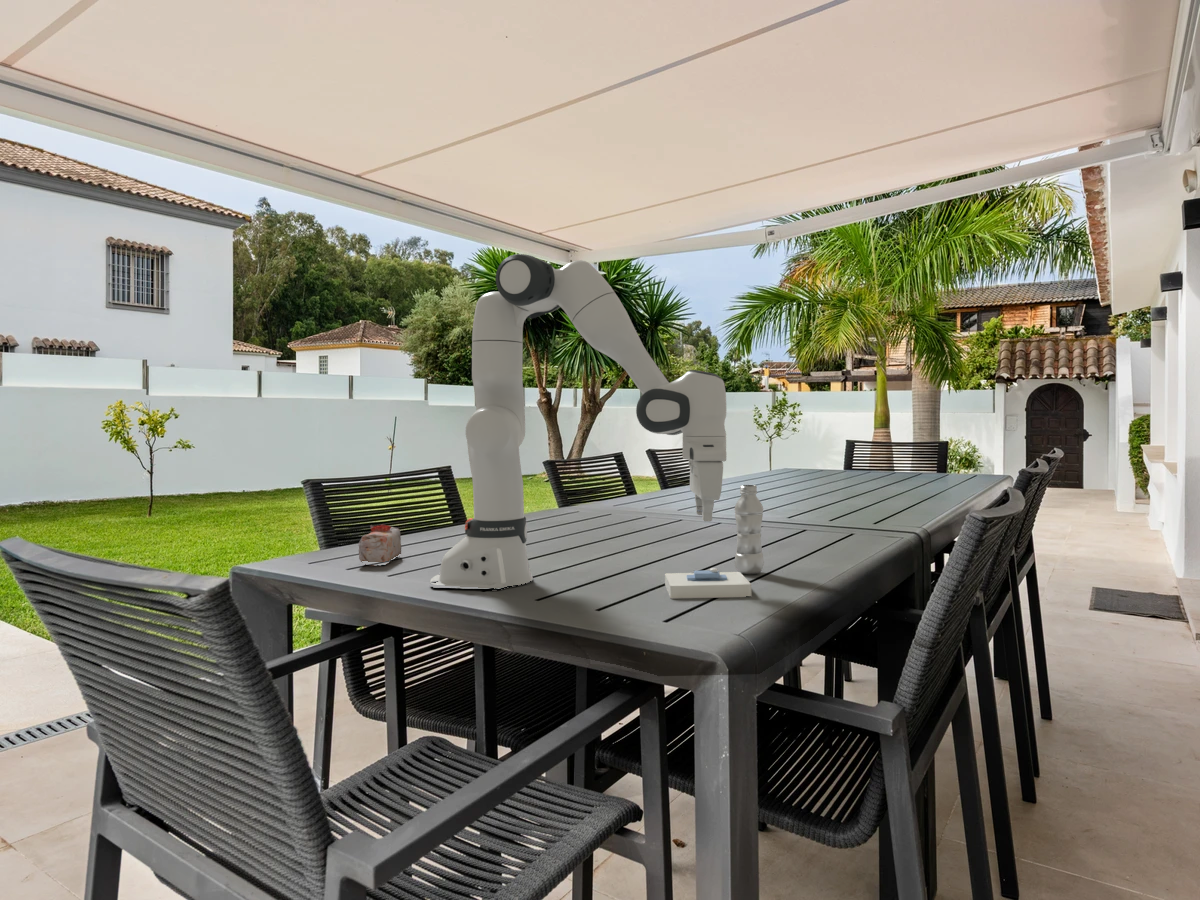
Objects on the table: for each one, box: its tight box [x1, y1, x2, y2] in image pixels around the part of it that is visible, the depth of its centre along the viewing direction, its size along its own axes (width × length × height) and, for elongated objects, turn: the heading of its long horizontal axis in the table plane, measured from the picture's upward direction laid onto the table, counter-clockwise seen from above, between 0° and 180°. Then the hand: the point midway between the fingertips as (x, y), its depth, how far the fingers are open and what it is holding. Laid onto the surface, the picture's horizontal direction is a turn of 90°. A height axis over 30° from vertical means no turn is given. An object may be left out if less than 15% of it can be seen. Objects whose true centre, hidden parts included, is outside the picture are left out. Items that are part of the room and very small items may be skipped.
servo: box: [687, 567, 727, 581], centre depth 155 cm, size 8×3×5 cm, turn 87°
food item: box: [357, 523, 402, 563], centre depth 194 cm, size 14×8×10 cm, turn 179°
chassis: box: [664, 571, 752, 599], centre depth 155 cm, size 16×12×2 cm
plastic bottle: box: [734, 484, 765, 575], centre depth 171 cm, size 6×7×20 cm
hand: (703, 517), depth 155 cm, fingers open, 8 cm apart
